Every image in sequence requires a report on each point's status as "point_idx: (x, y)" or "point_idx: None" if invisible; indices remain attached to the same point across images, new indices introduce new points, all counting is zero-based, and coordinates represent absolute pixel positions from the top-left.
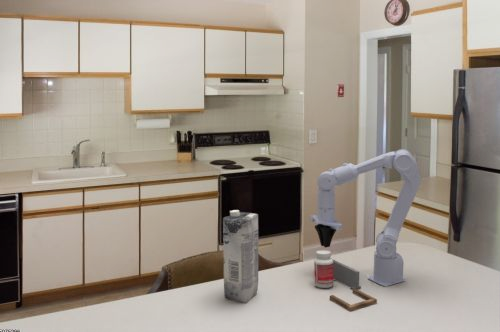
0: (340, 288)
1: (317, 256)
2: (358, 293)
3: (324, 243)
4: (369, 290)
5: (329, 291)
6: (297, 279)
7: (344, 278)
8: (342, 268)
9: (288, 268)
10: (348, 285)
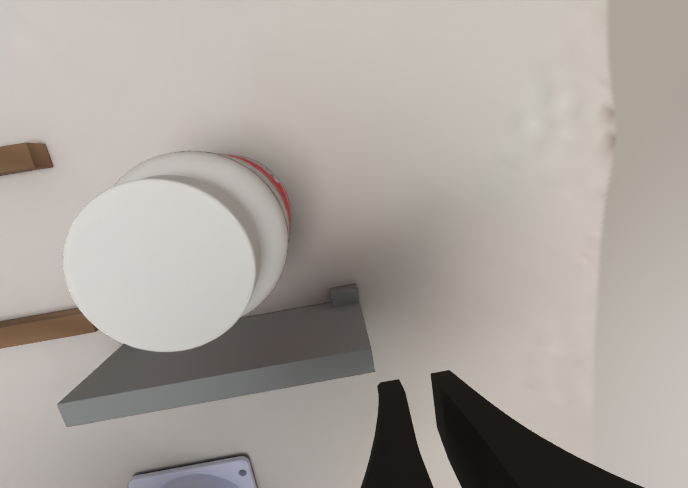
0: None
1: (158, 175)
2: (46, 318)
3: (385, 404)
4: None
5: None
6: (379, 107)
7: None
8: (212, 366)
9: (557, 137)
10: None
